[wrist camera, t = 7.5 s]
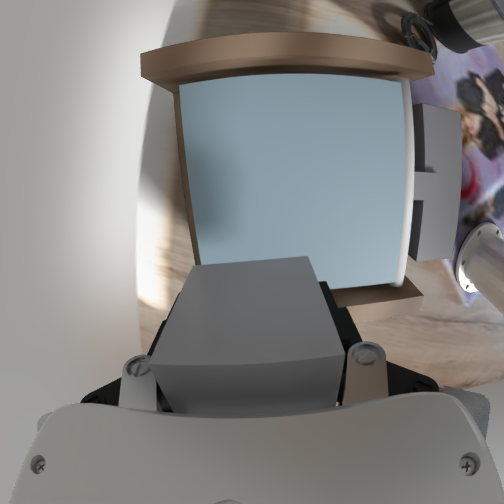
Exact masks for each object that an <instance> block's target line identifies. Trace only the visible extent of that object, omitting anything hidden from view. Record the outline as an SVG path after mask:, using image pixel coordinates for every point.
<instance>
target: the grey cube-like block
mask: <svg viewBox="0 0 504 504" xmlns="http://www.w3.org/2000/svg"><path fill="white" fill-rule="evenodd" d="M344 358H345V352H344V349H343V346H342V344H341V341H340V338H339V335H338V332H337V330H336V327H335V324H334V322H333V319H332V316H331V313H330V311H329V308H328V306H327V303H326V300H325V298H324V295H323V293H322V290H321V287H320V285H319V282H318V280H317V277H316V275H315V272H314V270H313V267H312V265H311V262H310V260H309V258H308V256H300V257H288V258H277V259H266V260H254V261H243V262H231V263H219V264H207V265H195V266H193V267H192V269H191V271H190V273H189V275H188V278H187V280H186V282H185V284H184V286H183V288H182V290H181V292H180V294H179V296H178V299H177V301H176V303H175V305H174V307H173V309H172V311H171V314H170V316H169V318H168V320H167V322H166V325H165V327H164V329H163V331H162V334H161V336H160V338H159V340H158V343H157V345H156V347H155V349H154V352H153V354H152V356H151V359H150V361H149V363H148V364H149V366H150V368H151V370H152V372H153V374H154V376H155V378H156V380H157V382H158V384H159V386H160V388H161V390H162V392H163V394H164V396H165V398H166V399H167V401H168V403H169V405H170V407H171V408H172V410H173V412H174V413H182V414H200V415H257V414H275V413H288V412H298V411H307V410H315V409H323V408H329V407H335V406H336V402H337V397H338V392H339V387H340V381H341V376H342V370H343V365H344Z"/></svg>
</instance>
